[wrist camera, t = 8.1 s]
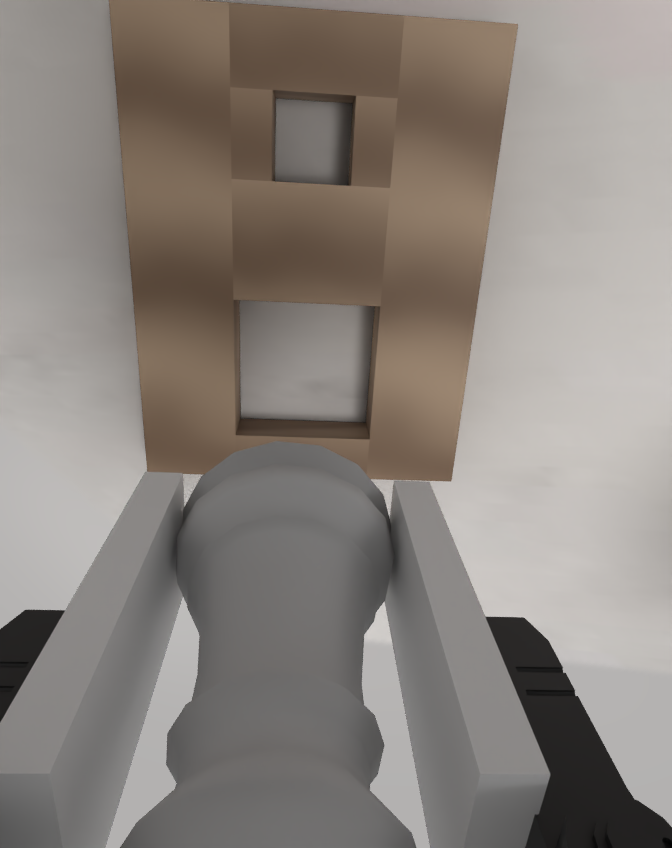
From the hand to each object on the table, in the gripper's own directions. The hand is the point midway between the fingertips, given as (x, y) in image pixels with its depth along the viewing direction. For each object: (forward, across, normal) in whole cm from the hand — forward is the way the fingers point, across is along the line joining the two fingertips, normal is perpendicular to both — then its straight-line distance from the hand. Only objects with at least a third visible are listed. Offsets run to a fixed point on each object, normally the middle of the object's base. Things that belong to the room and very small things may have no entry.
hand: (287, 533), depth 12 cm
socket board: (+15, 0, +4) cm, 15 cm away
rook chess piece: (0, 0, 0) cm, 0 cm away
